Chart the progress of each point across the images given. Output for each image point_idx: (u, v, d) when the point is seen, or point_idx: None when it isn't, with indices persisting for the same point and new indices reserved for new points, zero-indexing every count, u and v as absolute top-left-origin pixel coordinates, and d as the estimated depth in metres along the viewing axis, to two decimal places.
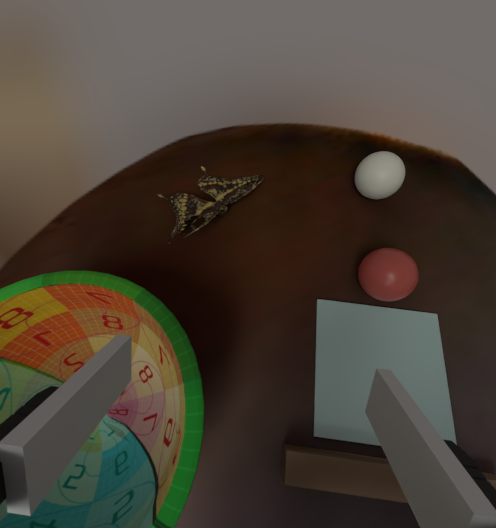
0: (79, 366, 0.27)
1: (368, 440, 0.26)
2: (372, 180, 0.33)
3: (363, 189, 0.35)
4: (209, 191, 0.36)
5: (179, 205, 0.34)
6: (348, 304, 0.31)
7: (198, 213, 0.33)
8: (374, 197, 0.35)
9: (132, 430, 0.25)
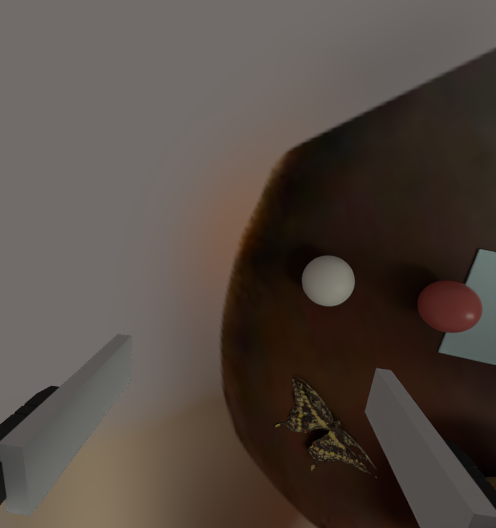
0: None
1: None
2: (344, 300, 0.30)
3: None
4: (311, 427, 0.38)
5: (327, 455, 0.38)
6: None
7: (342, 445, 0.37)
8: None
9: None
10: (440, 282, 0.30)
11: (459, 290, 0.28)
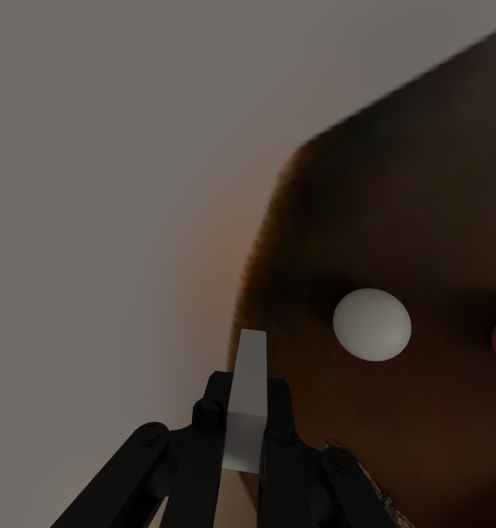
0: None
1: None
2: None
3: None
4: None
5: None
6: None
7: None
8: None
9: None
10: None
11: None
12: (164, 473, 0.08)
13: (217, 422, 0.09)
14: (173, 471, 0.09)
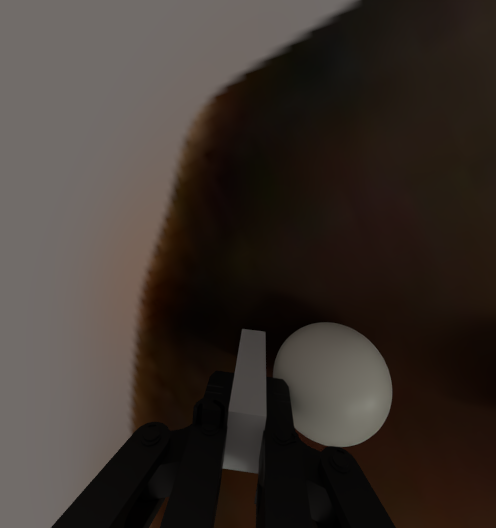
0: None
1: None
2: None
3: None
4: None
5: None
6: None
7: None
8: None
9: None
10: None
11: None
12: (164, 474, 0.08)
13: (218, 422, 0.09)
14: (174, 472, 0.09)
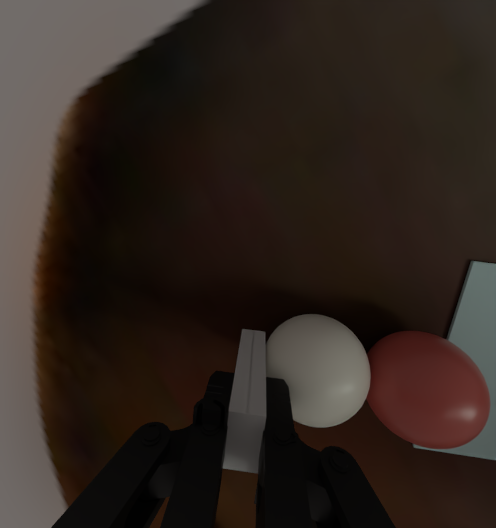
0: None
1: None
2: None
3: None
4: None
5: None
6: None
7: None
8: None
9: None
10: (399, 339, 0.15)
11: (437, 364, 0.13)
12: (165, 474, 0.08)
13: (218, 422, 0.09)
14: (174, 471, 0.09)
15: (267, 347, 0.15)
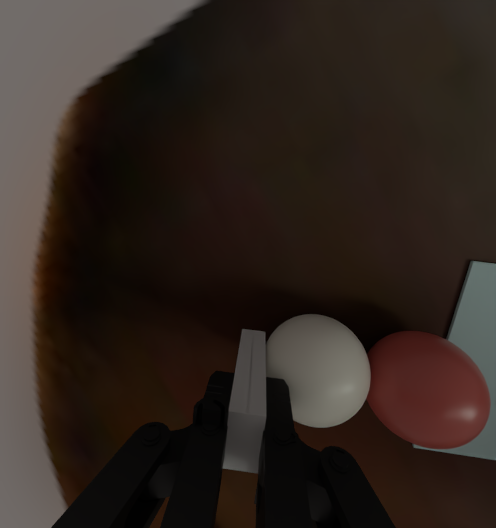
0: None
1: None
2: None
3: None
4: None
5: None
6: None
7: None
8: None
9: None
10: (399, 339, 0.15)
11: (438, 364, 0.13)
12: (165, 474, 0.08)
13: (218, 422, 0.09)
14: (174, 471, 0.09)
15: (267, 347, 0.15)
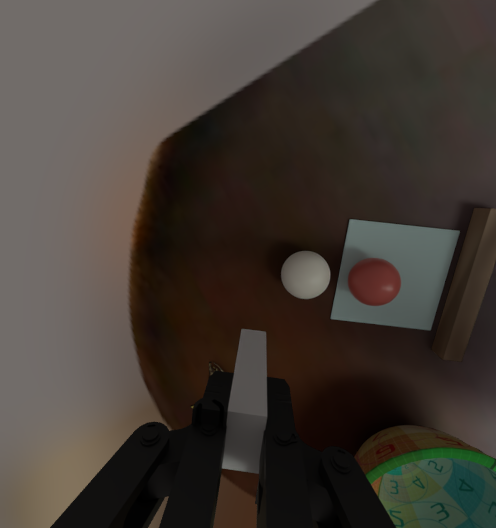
0: None
1: (438, 293, 0.36)
2: None
3: None
4: None
5: None
6: (336, 294, 0.36)
7: None
8: None
9: None
10: (389, 266, 0.31)
11: None
12: (164, 473, 0.08)
13: (217, 422, 0.09)
14: (173, 471, 0.09)
15: (300, 273, 0.30)
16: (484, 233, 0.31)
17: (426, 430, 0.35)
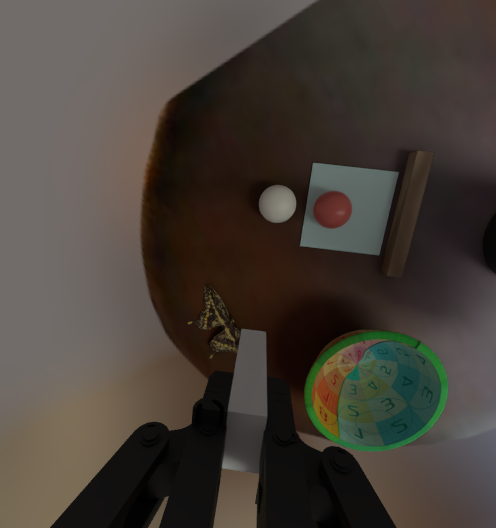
0: (336, 376, 0.51)
1: (384, 223, 0.45)
2: None
3: None
4: (213, 325, 0.51)
5: (222, 347, 0.51)
6: (304, 225, 0.46)
7: (233, 338, 0.50)
8: None
9: (368, 347, 0.50)
10: (343, 194, 0.41)
11: None
12: (164, 474, 0.08)
13: (217, 422, 0.09)
14: (173, 471, 0.09)
15: (271, 198, 0.40)
16: (413, 170, 0.41)
17: None
